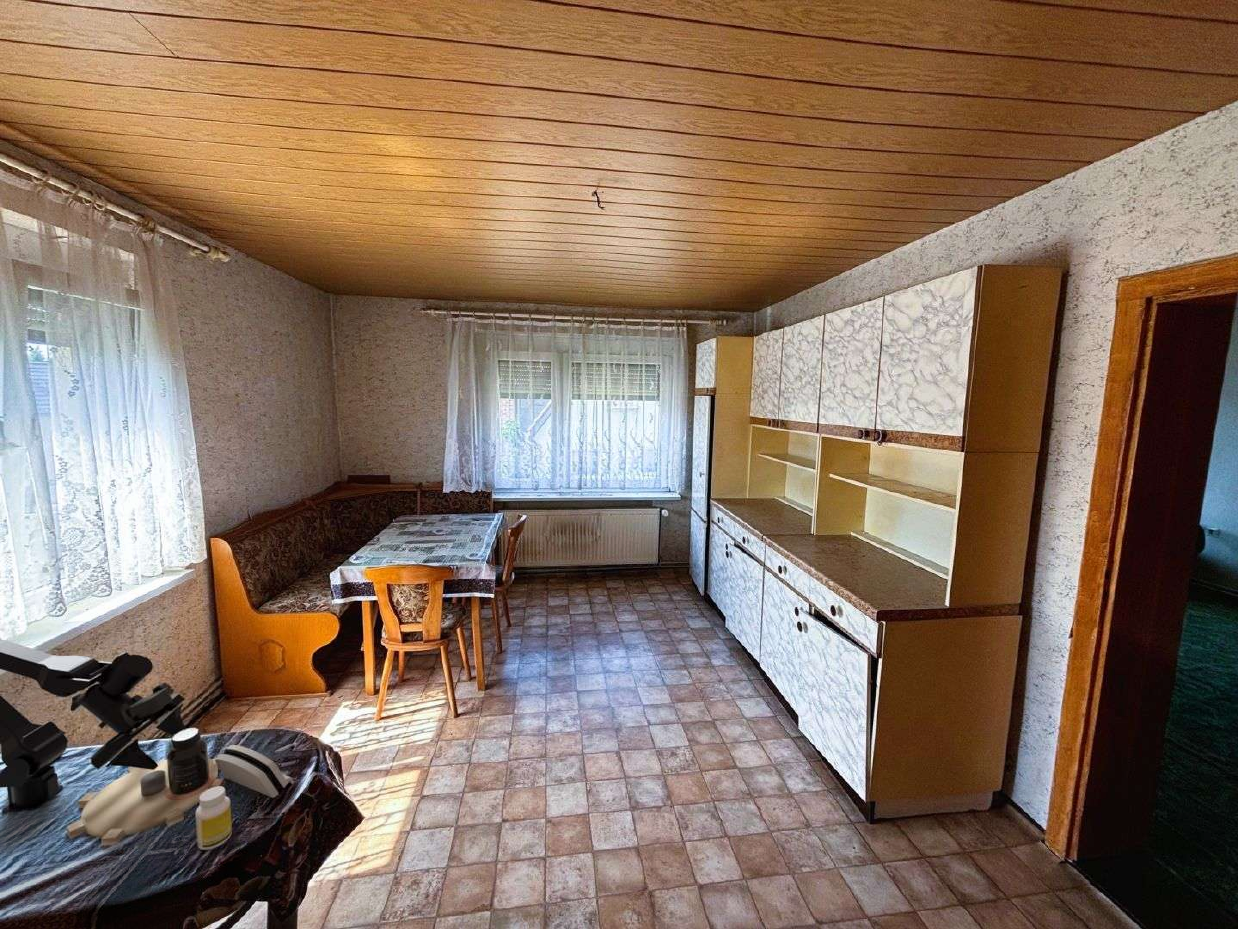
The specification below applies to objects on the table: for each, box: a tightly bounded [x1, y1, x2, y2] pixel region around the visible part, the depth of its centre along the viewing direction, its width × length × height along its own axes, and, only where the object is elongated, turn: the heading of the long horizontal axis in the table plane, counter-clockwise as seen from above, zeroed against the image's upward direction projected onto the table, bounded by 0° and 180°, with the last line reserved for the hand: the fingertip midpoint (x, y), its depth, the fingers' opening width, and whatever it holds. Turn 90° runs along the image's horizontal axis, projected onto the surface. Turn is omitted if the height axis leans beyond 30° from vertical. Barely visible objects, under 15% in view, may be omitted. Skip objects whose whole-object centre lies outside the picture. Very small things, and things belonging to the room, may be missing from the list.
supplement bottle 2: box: [195, 786, 233, 851], centre depth 101 cm, size 5×5×10 cm
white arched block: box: [214, 744, 295, 799], centre depth 117 cm, size 17×5×10 cm, turn 69°
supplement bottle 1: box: [166, 727, 210, 795], centre depth 113 cm, size 7×7×12 cm
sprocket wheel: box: [66, 757, 226, 847], centre depth 113 cm, size 26×26×4 cm
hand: (172, 753), depth 113 cm, fingers open, 9 cm apart
